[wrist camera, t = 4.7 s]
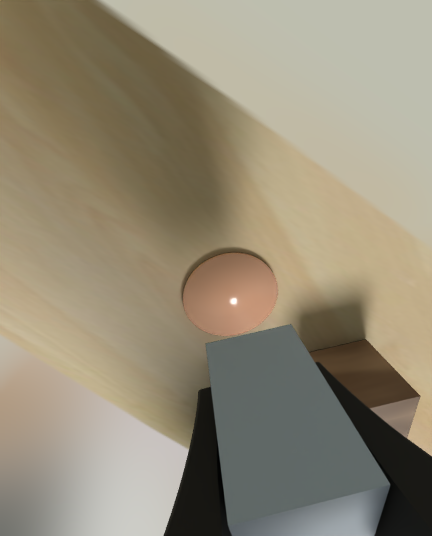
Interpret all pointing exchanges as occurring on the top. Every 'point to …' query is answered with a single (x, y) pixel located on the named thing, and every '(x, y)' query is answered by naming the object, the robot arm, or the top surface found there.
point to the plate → (230, 294)
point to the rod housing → (372, 382)
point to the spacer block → (288, 443)
